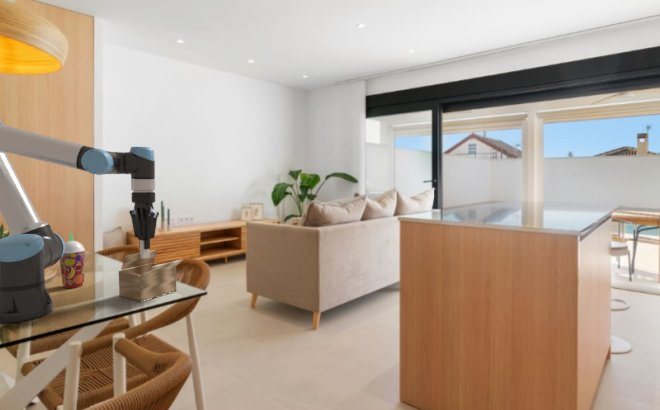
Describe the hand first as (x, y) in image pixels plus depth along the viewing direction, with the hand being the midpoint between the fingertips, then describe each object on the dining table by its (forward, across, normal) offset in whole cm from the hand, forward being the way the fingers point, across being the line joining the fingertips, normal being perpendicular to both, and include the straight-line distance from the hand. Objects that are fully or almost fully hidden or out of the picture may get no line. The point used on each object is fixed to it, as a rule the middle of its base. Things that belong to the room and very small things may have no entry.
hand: (144, 257), depth 139 cm
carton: (+13, -1, 0) cm, 13 cm away
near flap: (+4, -7, 0) cm, 8 cm away
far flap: (+4, +4, 0) cm, 6 cm away
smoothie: (+13, +30, +8) cm, 34 cm away
